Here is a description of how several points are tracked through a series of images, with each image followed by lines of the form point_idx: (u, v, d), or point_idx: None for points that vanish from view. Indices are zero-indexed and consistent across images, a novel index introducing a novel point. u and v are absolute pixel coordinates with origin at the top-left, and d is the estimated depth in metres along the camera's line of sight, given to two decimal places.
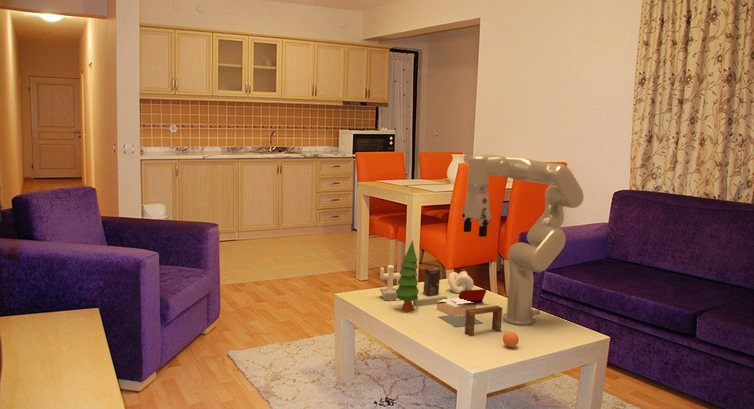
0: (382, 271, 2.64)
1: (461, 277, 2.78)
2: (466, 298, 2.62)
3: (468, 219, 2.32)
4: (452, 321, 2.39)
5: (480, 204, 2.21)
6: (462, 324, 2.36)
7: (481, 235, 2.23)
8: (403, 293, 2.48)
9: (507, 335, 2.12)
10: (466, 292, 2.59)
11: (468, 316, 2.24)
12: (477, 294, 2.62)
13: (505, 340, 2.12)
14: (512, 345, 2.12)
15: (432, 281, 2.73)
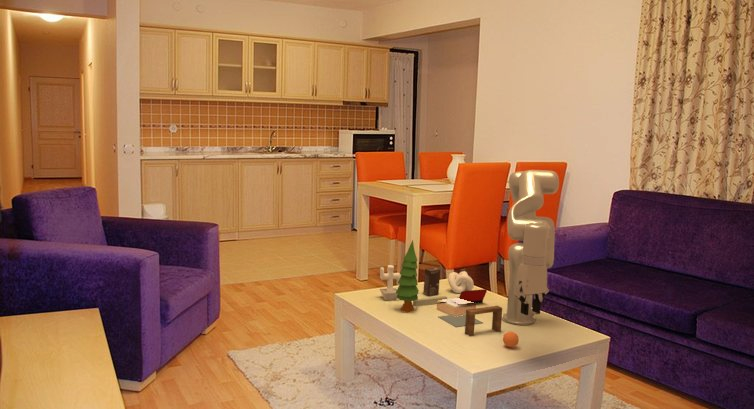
0: (382, 271, 2.64)
1: (461, 277, 2.78)
2: (467, 298, 2.62)
3: None
4: (452, 321, 2.39)
5: None
6: (462, 324, 2.36)
7: None
8: (403, 293, 2.48)
9: (507, 335, 2.12)
10: (467, 292, 2.59)
11: (468, 316, 2.24)
12: (478, 294, 2.62)
13: (505, 340, 2.12)
14: (512, 345, 2.12)
15: (432, 281, 2.73)
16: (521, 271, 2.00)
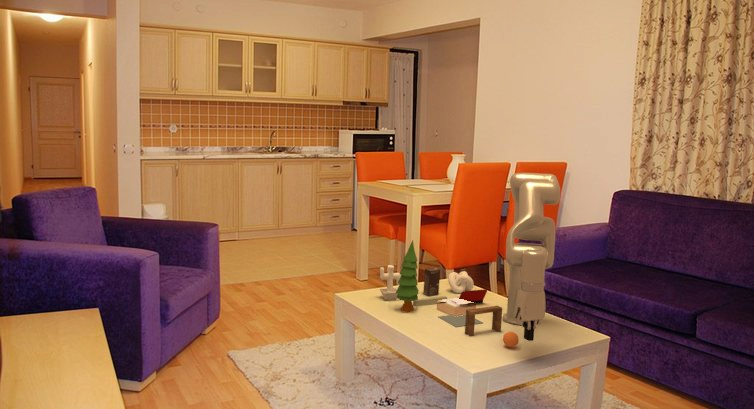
0: (382, 271, 2.64)
1: (461, 277, 2.78)
2: (467, 298, 2.61)
3: None
4: (452, 321, 2.39)
5: None
6: (462, 324, 2.36)
7: None
8: (403, 293, 2.48)
9: (507, 335, 2.12)
10: (467, 292, 2.59)
11: (468, 316, 2.24)
12: (478, 294, 2.62)
13: (505, 340, 2.12)
14: (512, 345, 2.12)
15: (432, 281, 2.73)
16: (519, 298, 2.01)
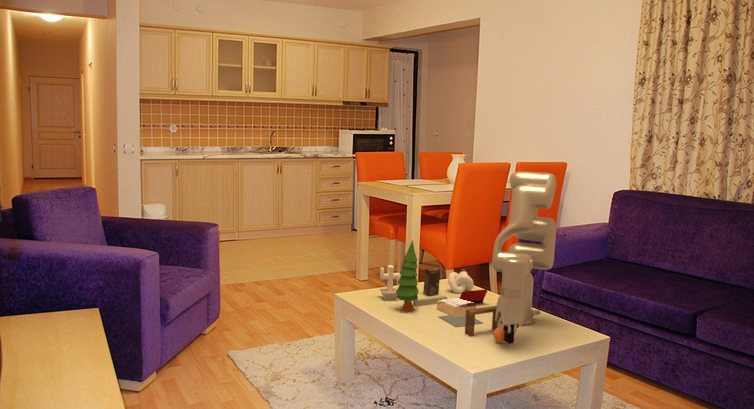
0: (382, 271, 2.64)
1: (461, 277, 2.78)
2: (467, 299, 2.61)
3: None
4: (452, 321, 2.39)
5: None
6: (462, 324, 2.36)
7: None
8: (403, 293, 2.48)
9: (493, 333, 2.19)
10: (467, 293, 2.59)
11: (468, 316, 2.24)
12: (478, 294, 2.62)
13: (494, 335, 2.17)
14: (501, 330, 2.16)
15: (432, 281, 2.73)
16: (500, 303, 2.11)
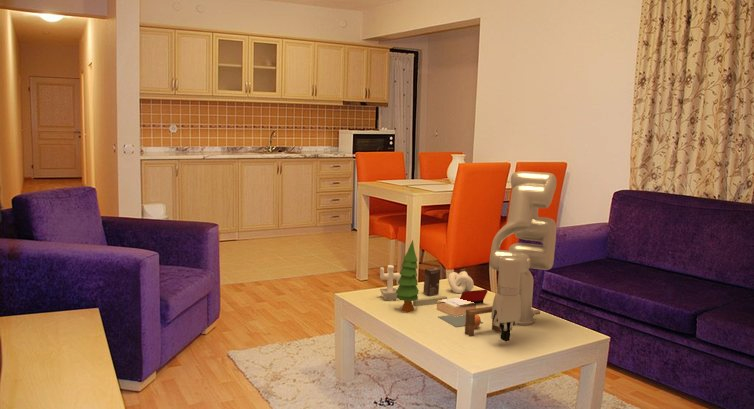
0: (382, 271, 2.64)
1: (461, 277, 2.78)
2: (468, 299, 2.61)
3: None
4: (452, 321, 2.39)
5: None
6: (462, 324, 2.36)
7: None
8: (403, 293, 2.48)
9: None
10: (468, 293, 2.58)
11: (468, 316, 2.24)
12: (478, 294, 2.62)
13: None
14: None
15: (432, 281, 2.73)
16: (496, 301, 2.13)
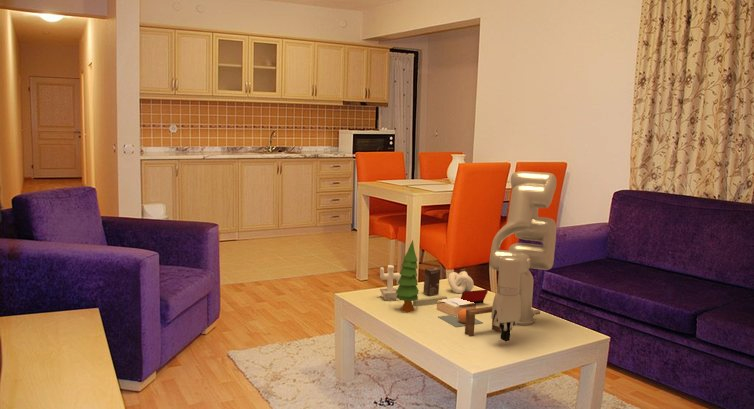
0: (382, 271, 2.64)
1: (461, 277, 2.78)
2: (468, 299, 2.61)
3: None
4: (452, 321, 2.39)
5: None
6: (462, 324, 2.36)
7: None
8: (403, 293, 2.48)
9: None
10: (468, 293, 2.58)
11: (468, 316, 2.24)
12: (479, 295, 2.61)
13: (458, 317, 2.37)
14: None
15: (432, 281, 2.73)
16: (496, 301, 2.13)
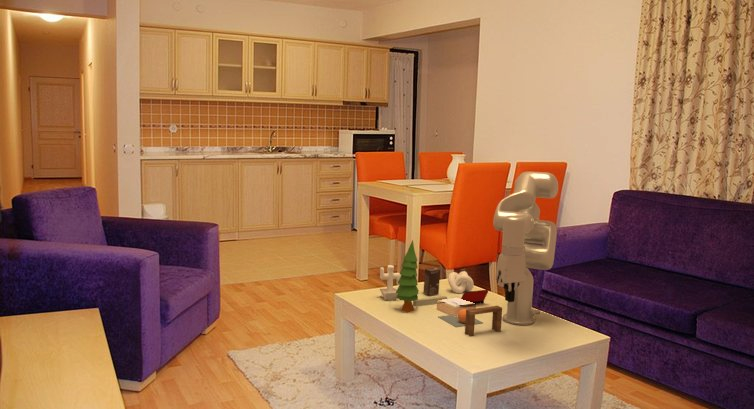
0: (382, 271, 2.64)
1: (461, 277, 2.78)
2: (468, 299, 2.61)
3: None
4: (452, 321, 2.39)
5: None
6: (462, 324, 2.36)
7: None
8: (403, 293, 2.48)
9: None
10: (469, 293, 2.58)
11: (468, 316, 2.24)
12: (479, 295, 2.61)
13: (458, 317, 2.37)
14: None
15: (432, 281, 2.73)
16: (500, 261, 2.11)
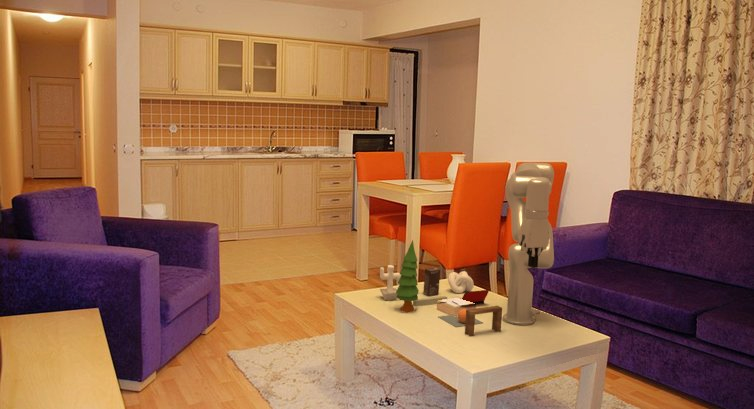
0: (382, 271, 2.64)
1: (461, 277, 2.78)
2: (469, 299, 2.60)
3: None
4: (452, 321, 2.39)
5: None
6: (462, 324, 2.36)
7: None
8: (403, 293, 2.48)
9: None
10: (470, 293, 2.58)
11: (468, 316, 2.24)
12: (480, 295, 2.61)
13: (458, 317, 2.37)
14: None
15: (432, 281, 2.73)
16: (524, 225, 2.07)
